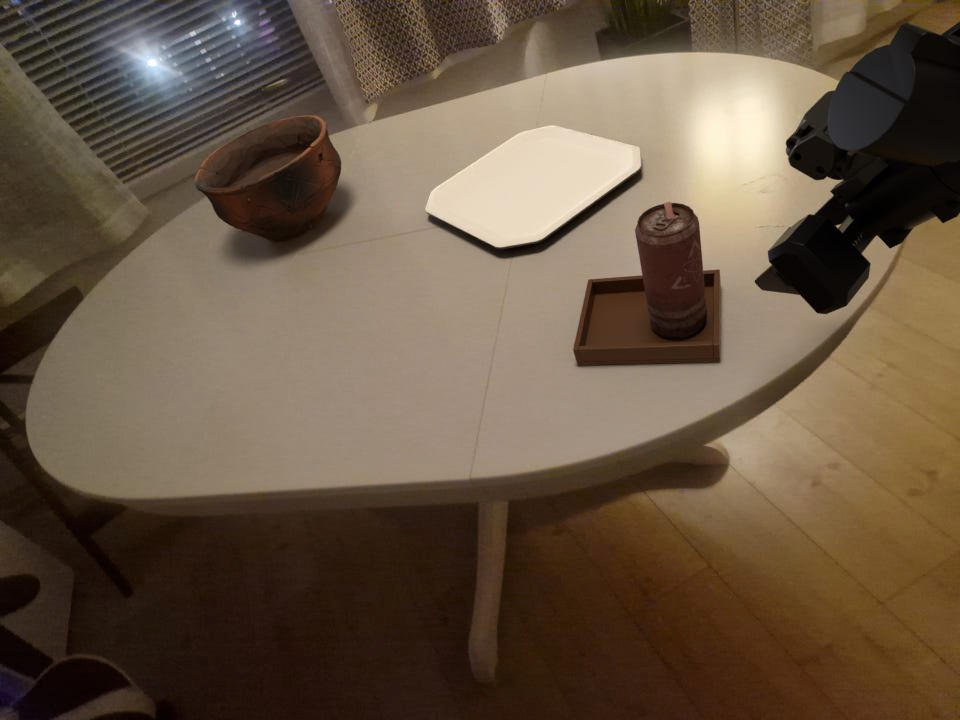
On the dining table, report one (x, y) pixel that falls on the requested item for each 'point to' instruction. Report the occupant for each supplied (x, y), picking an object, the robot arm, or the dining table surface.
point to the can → (672, 269)
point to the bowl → (273, 178)
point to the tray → (640, 326)
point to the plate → (532, 185)
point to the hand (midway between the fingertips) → (786, 253)
